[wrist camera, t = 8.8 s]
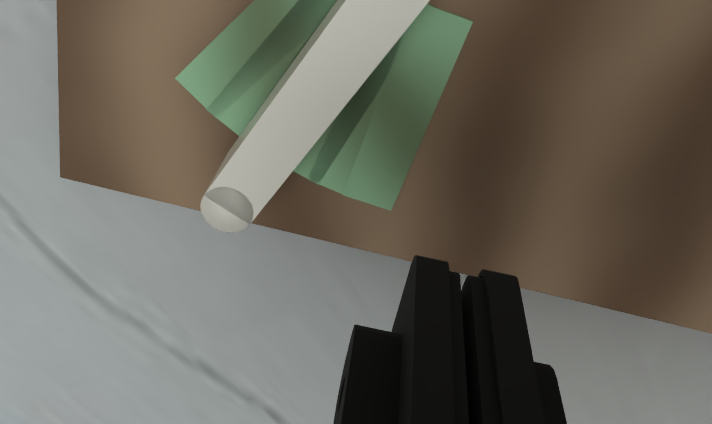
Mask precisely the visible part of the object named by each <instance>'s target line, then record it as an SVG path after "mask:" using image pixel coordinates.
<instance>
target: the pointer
mask: <svg viewBox="0 0 712 424" xmlns="http://www.w3.org/2000/svg"><path fill="white" fill-rule="evenodd" d="M429 1H430V0H337V1H336V3H335V4H334V5H333V7H332V8H331V10H330V11H329V12H328V14H327V15H326V17H325V18H324V19H323V21H322V22H321V24H320V25H319V26H318V28H317V29H316V31H315V32H314V33H313V35H312V36H311V37H310V39H309V40H308V42H307V43H306V44H305V46H304V47H303V49H302V50H301V51H300V53H299V54H298V56H297V57H296V58H295V60H294V61H293V62H292V64H291V65H290V67H289V68H288V69H287V71H286V72H285V74H284V75H283V76H282V78H281V79H280V81H279V82H278V83H277V85H276V86H275V88H274V89H273V90H272V92H271V93H270V94H269V96H268V97H267V99H266V100H265V101H264V103H263V104H262V106H261V107H260V108H259V110H258V111H257V113H256V114H255V115H254V117H253V118H252V120H251V121H250V122H249V124H248V125H247V126H246V128H245V129H244V131H243V132H242V133H241V135H240V136H239V138H238V139H237V140H236V142H235V143H234V145H233V146H232V147H231V149H230V150H229V152H228V153H227V155H226V157H225V159H224V160H223V162H222V164H221V166H220V168H219V169H218V171H217V173H216V175H215V176H214V178H213V180H212V182H211V184H210V185H209V187H208V189H207V191H206V192H205V194H204V196H203V198H202V200H201V204H200V208H201V213H202V216H203V217H204V219H205V220H206V222H207V223H208V224H209V225H211V226H212V227H213V228H215V229H217V230H219V231H222V232H226V233H235V232H240V231H242V230H244V229H246V228H247V227H248V226H249V225H250V224H251V223H252V221H253V220H254V219H255V218H256V216H257V215H258V214H259V213H260V211H261V210H262V209H263V208H264V206H265V205H266V204H267V203H268V201H269V200H270V199H271V198H272V196H273V195H274V194H275V193H276V191H277V190H278V189H279V188H280V186H281V185H282V184H283V183H284V181H285V180H286V179H287V178H288V176H289V175H290V174H291V173H292V171H293V170H294V169H295V168H296V166H297V165H298V164H299V163H300V162H301V160H302V159H303V158H304V157H305V155H306V154H307V153H308V152H309V150H310V149H311V148H312V147H313V145H314V144H315V143H316V142H317V140H318V139H319V138H320V137H321V135H322V134H323V133H324V132H325V130H326V129H327V128H328V127H329V125H330V124H331V123H332V122H333V120H334V119H335V118H336V117H337V115H338V114H339V113H340V112H341V110H342V109H343V108H344V107H345V105H346V104H347V103H348V102H349V100H350V99H351V98H352V97H353V95H354V94H355V93H356V92H357V91H358V89H359V88H360V87H361V86H362V84H363V83H364V82H365V81H366V79H367V78H368V77H369V76H370V74H371V73H372V72H373V71H374V69H375V68H376V67H377V66H378V64H379V63H380V62H381V61H382V59H383V58H384V57H385V56H386V54H387V53H388V52H389V51H390V49H391V48H392V47H393V46H394V44H395V43H396V42H397V41H398V39H399V38H400V37H401V36H402V34H403V33H404V32H405V31H406V29H407V28H408V27H409V26H410V24H411V23H412V22H413V21H414V19H415V18H416V17H417V16H418V15H419V13H420V12H421V11H422V10H423V8H424V7H425V6H426V5H427V3H428V2H429Z"/></svg>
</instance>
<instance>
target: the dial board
mask: <svg viewBox="0 0 712 424" xmlns="http://www.w3.org/2000/svg"><path fill="white" fill-rule="evenodd" d="M336 1H337V0H57V35H58V85H59V135H60V177H62V178H66V179H70V180H74V181H78V182H83V183H87V184H91V185H95V186H99V187H104V188H108V189H112V190H116V191H120V192H124V193H129V194H133V195H137V196H141V197H145V198H149V199H154V200H158V201H162V202H166V203H170V204H174V205H179V206H183V207H187V208H191V209H195V210H199V211H201V208H200V204H201V200H202V198H203V196H204V194H205V192H206V191H207V189H208V187H209V185H210V184H211V182H212V180H213V178H214V176H215V175H216V173H217V171H218V169H219V168H220V166H221V164H222V162H223V160H224V159H225V157H226V155H227V153H228V152H229V150H230V149H231V147H232V146H233V145H234V143H235V142H236V140H237V139H238V138H239V136H240V135H241V133H242V132H243V131H244V129H245V128H246V126H247V125H248V124H249V122H250V121H251V120H252V118H253V117H254V115H255V114H256V113H257V111H258V110H259V108H260V107H261V106H262V104H263V103H264V101H265V100H266V99H267V97H268V96H269V94H270V93H271V92H272V90H273V89H274V88H275V86H276V85H277V83H278V82H279V81H280V79H281V78H282V76H283V75H284V74H285V72H286V71H287V69H288V68H289V67H290V65H291V64H292V62H293V61H294V60H295V58H296V57H297V56H298V54H299V53H300V51H301V50H302V49H303V47H304V46H305V44H306V43H307V42H308V40H309V39H310V37H311V36H312V35H313V33H314V32H315V31H316V29H317V28H318V26H319V25H320V24H321V22H322V21H323V19H324V18H325V17H326V15H327V14H328V12H329V11H330V10H331V8H332V7H333V5H334V4H335V3H336ZM252 223H254V224H258V225H262V226H266V227H270V228H275V229H279V230H283V231H287V232H291V233H295V234H300V235H304V236H308V237H312V238H316V239H320V240H325V241H329V242H333V243H337V244H341V245H345V246H350V247H354V248H358V249H362V250H366V251H370V252H375V253H379V254H383V255H387V256H391V257H395V258H400V259H404V260H408V261H413V258H414V256H415V255H418V256H423V257H428V258H433V259H437V260H442V261H447V262H448V263H449V270H450V271H454V272H458V273H462V274H466V275H471V276H475V277H478V275H479V273H480V271H481V270H483V269H485V270H490V271H495V272H499V273H504V274H509V275H514V276H516V277H517V278H518V281H519V286H520V287H521V288H525V289H529V290H533V291H537V292H541V293H546V294H550V295H554V296H558V297H562V298H566V299H571V300H575V301H579V302H583V303H587V304H592V305H596V306H600V307H604V308H608V309H612V310H617V311H621V312H625V313H629V314H633V315H637V316H642V317H646V318H650V319H654V320H658V321H662V322H667V323H671V324H675V325H679V326H683V327H687V328H692V329H696V330H700V331H704V332H708V333H712V0H430V1H429V2H428V3H427V5H426V6H425V7H424V8H423V10H422V11H421V12H420V13H419V15H418V16H417V17H416V18H415V19H414V21H413V22H412V23H411V24H410V26H409V27H408V28H407V29H406V31H405V32H404V33H403V34H402V36H401V37H400V38H399V39H398V41H397V42H396V43H395V44H394V46H393V47H392V48H391V49H390V51H389V52H388V53H387V54H386V56H385V57H384V58H383V59H382V61H381V62H380V63H379V64H378V66H377V67H376V68H375V69H374V71H373V72H372V73H371V74H370V76H369V77H368V78H367V79H366V81H365V82H364V83H363V84H362V86H361V87H360V88H359V89H358V91H357V92H356V93H355V94H354V95H353V97H352V98H351V99H350V100H349V102H348V103H347V104H346V105H345V107H344V108H343V109H342V110H341V112H340V113H339V114H338V115H337V117H336V118H335V119H334V120H333V122H332V123H331V124H330V125H329V127H328V128H327V129H326V130H325V132H324V133H323V134H322V135H321V137H320V138H319V139H318V140H317V142H316V143H315V144H314V145H313V147H312V148H311V149H310V150H309V152H308V153H307V154H306V155H305V157H304V158H303V159H302V160H301V162H300V163H299V164H298V165H297V166H296V168H295V169H294V170H293V171H292V173H291V174H290V175H289V176H288V178H287V179H286V180H285V181H284V183H283V184H282V185H281V186H280V188H279V189H278V190H277V191H276V193H275V194H274V195H273V196H272V198H271V199H270V200H269V201H268V203H267V204H266V205H265V206H264V208H263V209H262V210H261V211H260V213H259V214H258V215H257V216H256V218H255V219H254V220H253V221H252Z"/></svg>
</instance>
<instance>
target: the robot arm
mask: <svg viewBox="0 0 712 424" xmlns="http://www.w3.org/2000/svg"><path fill="white" fill-rule="evenodd" d="M334 424H567V422H566V418H565V413H564V409H563V404H562V400H561V395H560V391H559V386H558V382H557V377H556V375H555V372H554V369H553V368H552V367H551V366H550V365H547V364H542V363H537V362H534V361H533V356H532V350H531V345H530V340H529V334H528V329H527V323H526V318H525V313H524V307H523V302H522V297H521V291H520V286H519V281H518V278H517V277H516V276H514V275H509V274H504V273H499V272H495V271H490V270H485V269H483V270H481V271H480V273H479V275H478V277H475V276H471V275H468V276H467V278H466V280H465V282H464V285H463V287H462V290H461V284H460V274H459V273H456V272H452V271H449V263H448V262H447V261H442V260H437V259H433V258H428V257H423V256H418V255H415V256H414V258H413V261H412V264H411V267H410V270H409V274H408V277H407V281H406V284H405V287H404V291H403V294H402V298H401V301H400V305H399V308H398V311H397V315H396V318H395V322H394V325H393V329H392V332H388V331H383V330H378V329H374V328H369V327H364V326H359V325H354V328H353V332H352V335H351V339H350V343H349V348H348V352H347V356H346V360H345V364H344V369H343V374H342V379H341V384H340V389H339V394H338V399H337V405H336V411H335V417H334Z"/></svg>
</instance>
